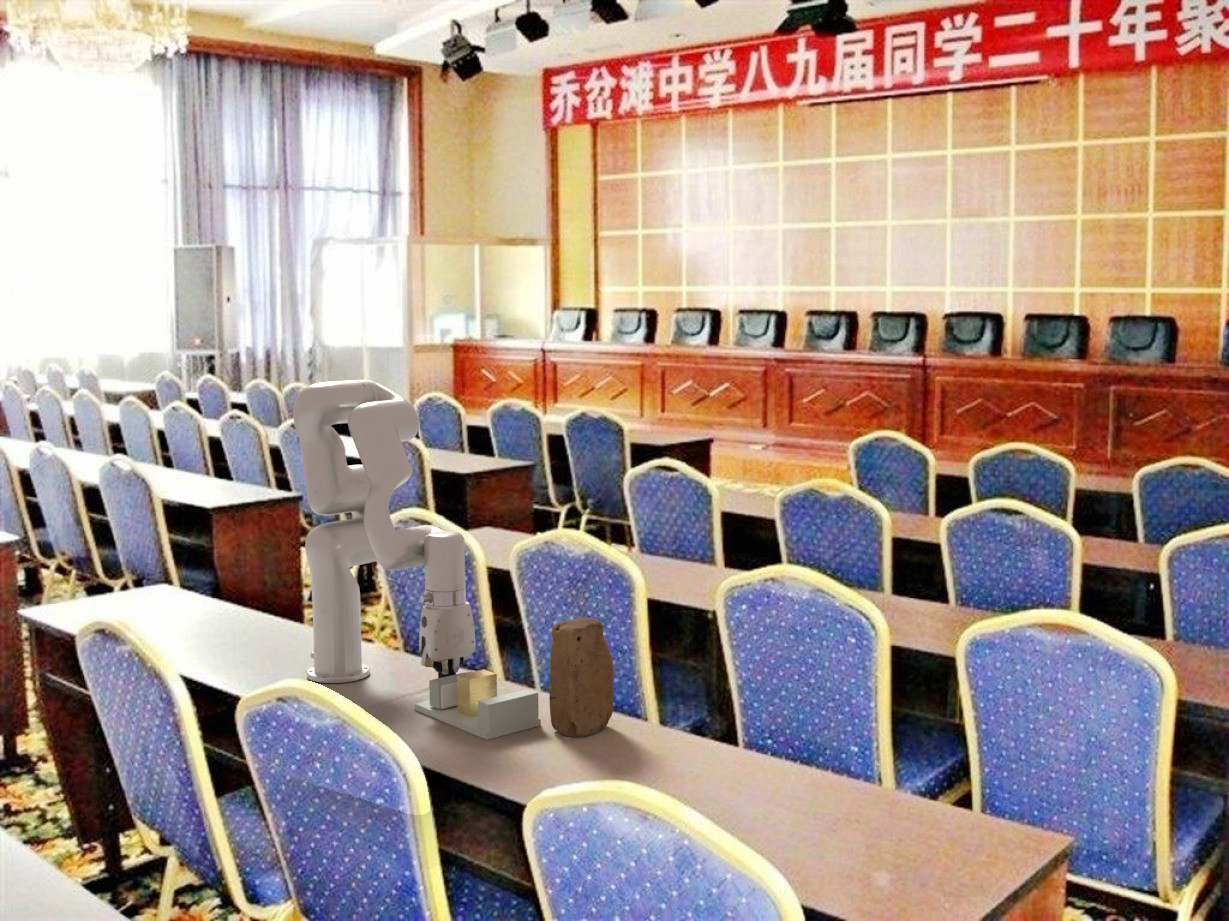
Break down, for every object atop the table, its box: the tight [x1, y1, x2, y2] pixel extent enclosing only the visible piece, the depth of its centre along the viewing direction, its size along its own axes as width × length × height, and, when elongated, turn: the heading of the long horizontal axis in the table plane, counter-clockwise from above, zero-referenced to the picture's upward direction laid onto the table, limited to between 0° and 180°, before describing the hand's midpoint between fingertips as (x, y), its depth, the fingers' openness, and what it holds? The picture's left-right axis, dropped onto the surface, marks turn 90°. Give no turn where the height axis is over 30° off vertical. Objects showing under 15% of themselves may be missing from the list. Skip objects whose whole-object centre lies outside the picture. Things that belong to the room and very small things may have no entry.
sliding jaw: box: [428, 670, 475, 709], centre depth 259 cm, size 4×10×5 cm, turn 131°
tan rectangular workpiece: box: [457, 669, 498, 717], centre depth 254 cm, size 4×6×7 cm, turn 131°
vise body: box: [414, 688, 542, 741], centre depth 254 cm, size 23×12×6 cm, turn 41°
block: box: [548, 616, 615, 738], centre depth 246 cm, size 11×8×20 cm
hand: (447, 692), depth 262 cm, fingers closed
